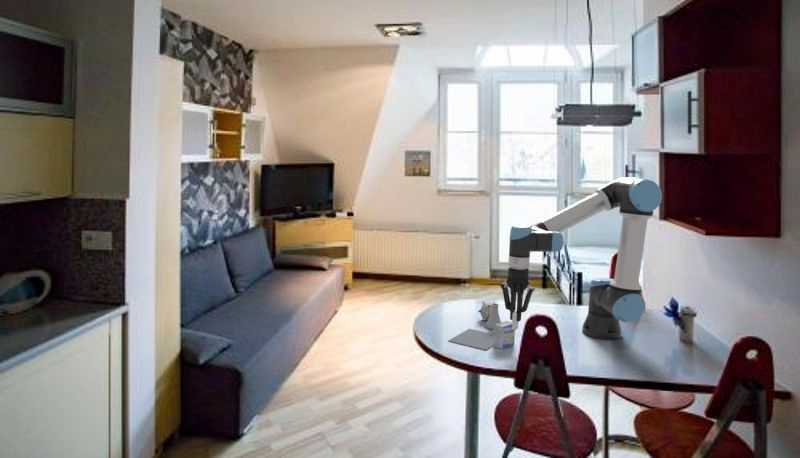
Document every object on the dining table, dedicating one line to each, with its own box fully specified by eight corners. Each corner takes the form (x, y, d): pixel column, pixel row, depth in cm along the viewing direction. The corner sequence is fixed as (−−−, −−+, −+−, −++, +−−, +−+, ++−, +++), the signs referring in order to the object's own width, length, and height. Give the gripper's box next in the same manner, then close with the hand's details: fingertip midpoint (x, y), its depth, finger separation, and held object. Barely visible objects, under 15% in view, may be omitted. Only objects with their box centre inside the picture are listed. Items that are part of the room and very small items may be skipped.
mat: (505, 337, 216) (505, 336, 216) (486, 350, 201) (486, 349, 201) (469, 329, 225) (469, 328, 225) (448, 341, 210) (448, 340, 210)
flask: (484, 324, 232) (485, 301, 231) (501, 324, 232) (502, 302, 231) (486, 329, 225) (487, 306, 224) (503, 330, 225) (505, 307, 223)
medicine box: (501, 349, 203) (503, 327, 202) (492, 346, 206) (493, 324, 205) (514, 345, 208) (515, 323, 207) (505, 341, 211) (506, 320, 210)
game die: (489, 327, 240) (502, 308, 241) (491, 326, 231) (504, 307, 233) (472, 315, 241) (485, 297, 243) (473, 314, 233) (486, 295, 234)
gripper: (498, 266, 201) (494, 327, 204) (532, 271, 194) (528, 335, 197) (505, 263, 207) (502, 322, 210) (539, 268, 200) (535, 329, 203)
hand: (514, 328), depth 204 cm, fingers closed
